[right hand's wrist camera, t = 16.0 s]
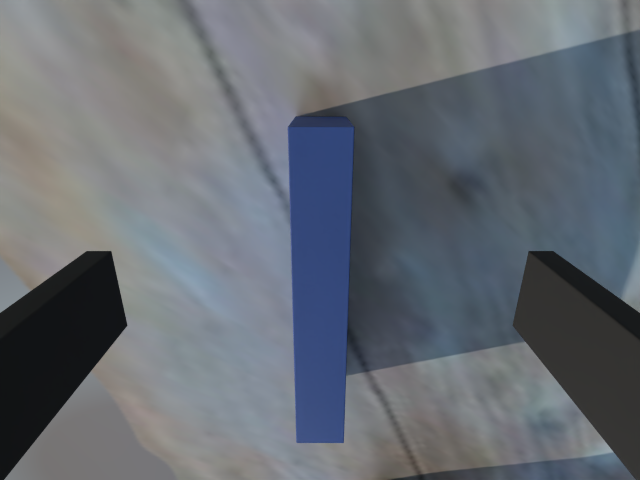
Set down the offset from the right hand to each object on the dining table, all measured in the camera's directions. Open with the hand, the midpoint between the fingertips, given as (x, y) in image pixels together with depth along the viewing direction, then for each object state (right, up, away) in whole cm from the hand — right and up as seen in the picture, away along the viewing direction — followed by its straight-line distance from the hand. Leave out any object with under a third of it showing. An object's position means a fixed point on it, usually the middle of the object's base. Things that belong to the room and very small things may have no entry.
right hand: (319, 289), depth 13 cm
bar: (0, -1, +28) cm, 28 cm away
